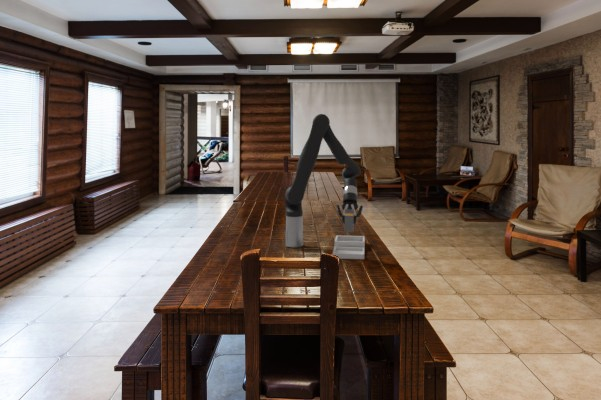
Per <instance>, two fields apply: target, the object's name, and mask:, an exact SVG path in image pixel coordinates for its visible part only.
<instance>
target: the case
mask: <svg viewBox="0 0 601 400" xmlns="http://www.w3.org/2000/svg"><path fill="white" fill-rule="evenodd" d="M365 237H366V236H365V235H335V238H334V247H364V249H365V240H366V239H365Z"/></svg>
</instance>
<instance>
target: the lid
mask: <svg viewBox="0 0 601 400" xmlns="http://www.w3.org/2000/svg"><path fill="white" fill-rule="evenodd" d="M333 255H336V256H338V257H339V258H338V259H339V260H340V259H343V260H344V259H345V260H347V259H348V260H365V248H364V247H335V246H334V247H333V249H332V256H333Z"/></svg>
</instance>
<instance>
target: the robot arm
mask: <svg viewBox="0 0 601 400" xmlns="http://www.w3.org/2000/svg"><path fill="white" fill-rule="evenodd" d="M330 122H331V121H330V119H329V117H328V115H327V114H324V113H320V114H319V113H318V114H317V115H315V116H314V118H313V119H312V125H311V129H310V133H309V136H308V138H307V140H306V142H305V144H304V146H303V148H302V150H301V152H300V155H299V158H298V160H297V165H296V170H295V171H296V172H295V175H294V176H295V177H294V180H293V182H292V184H291V186H290V187H288V188H287V189H286V191H285V194H284V195H285V196H284V204H285V205H284V207H285V208H284V209H285V222H286V223H285V228H286V229H285V233H284V234H285V247H287V248H288V247H289V248H301V247H303V246H304V245H303V243H304V242H303V241H304V239H303V238H304V237H303V235H304V233H303V232H304V231H303V229H304V227H303V226H304V222H303V220H304V219H303V215H304V214H303V206H302V203H303V202H302V201H303V200H304V196H305V193H306V190H307V185H308V182H309V180H310V178H311V174H312V172H313V171H314V168H315V165H316V162H317V161H318V160H317V159H318V157H319V153H320V150H321V146H322V145H321V144H322V142H323V140H324V142H325V143H326V145H327V146H328V148H329V150H330V152H331V154H332V155H333V157H334V159H335V160H336V161H337V163H338V165H340V166H342V165H346V167H345V168H343V169H342V172H341V176H342V180H343V194H342V204H341V205H339V204H337V205H336V210H337V213H338V217H340V218H341V222H342V223H343V224H344V225H345V209H354V221H353V223H354V225H355V224H357V218H361V215H362V212H363V209H364V207H363V205H359V204H358V180H357V179H356V178H357V177H358V176H359V175H360V174H361V169H362V168H361V167H360V166H359V164H358V163H357V162H356V161H354V160H353V158H351V156H350V155H349V154H348V152H347V151H346V149H345V147H344V146H343V145H342V143H341V142H340V141H339V139H338V138H337V137H336V135H335V133H334V131H333V129H332V128H331V127H332V126H331V123H330ZM341 210H343V211H341ZM356 210H358V211H357V212H356Z"/></svg>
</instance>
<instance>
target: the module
mask: <svg viewBox="0 0 601 400" xmlns="http://www.w3.org/2000/svg"><path fill="white" fill-rule="evenodd" d="M353 221H354V209H345V224H344V233H348V232H349V233H354V231H355V230H354V226H355V224H354V223H353Z"/></svg>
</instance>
